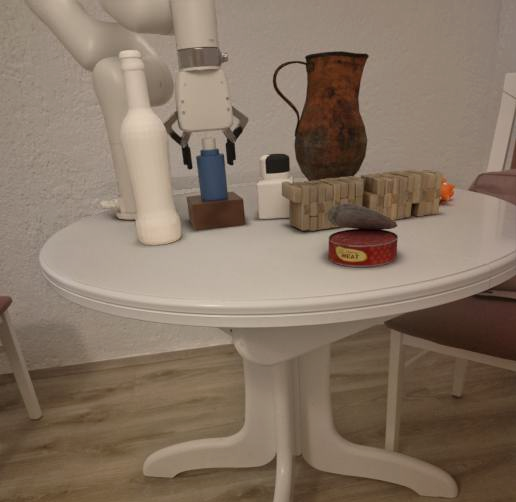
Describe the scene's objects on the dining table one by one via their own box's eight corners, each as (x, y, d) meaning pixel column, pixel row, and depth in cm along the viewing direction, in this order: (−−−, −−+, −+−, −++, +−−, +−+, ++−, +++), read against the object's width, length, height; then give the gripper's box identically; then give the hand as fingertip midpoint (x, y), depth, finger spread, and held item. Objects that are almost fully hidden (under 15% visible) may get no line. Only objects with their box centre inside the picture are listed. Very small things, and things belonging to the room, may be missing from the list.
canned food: (326, 285, 74) (306, 224, 74) (382, 268, 77) (363, 208, 76) (359, 271, 63) (335, 198, 63) (423, 251, 66) (400, 181, 65)
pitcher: (372, 198, 111) (378, 45, 97) (280, 205, 111) (272, 54, 97) (358, 186, 125) (361, 53, 112) (276, 193, 126) (270, 60, 112)
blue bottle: (203, 201, 94) (196, 140, 89) (199, 197, 98) (192, 138, 93) (230, 198, 95) (224, 137, 90) (225, 194, 99) (219, 136, 94)
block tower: (416, 211, 99) (281, 224, 93) (420, 168, 95) (280, 178, 89) (438, 218, 92) (294, 233, 86) (444, 172, 88) (294, 183, 82)
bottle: (190, 234, 91) (165, 49, 77) (169, 246, 84) (138, 45, 70) (152, 234, 93) (122, 54, 80) (129, 245, 87) (92, 51, 73)
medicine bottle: (294, 210, 104) (292, 151, 98) (293, 218, 98) (291, 155, 92) (261, 212, 105) (258, 153, 99) (258, 219, 98) (254, 157, 93)
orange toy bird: (411, 170, 105) (442, 177, 95) (440, 178, 108) (472, 186, 97) (403, 193, 107) (432, 202, 97) (431, 201, 110) (462, 211, 99)
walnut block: (195, 230, 93) (192, 204, 91) (189, 220, 102) (186, 196, 100) (245, 224, 95) (243, 198, 93) (235, 215, 104) (233, 191, 102)
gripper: (242, 61, 91) (249, 160, 99) (149, 66, 88) (164, 169, 96) (251, 57, 84) (258, 164, 92) (151, 63, 81) (167, 173, 89)
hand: (210, 166), depth 94 cm, fingers open, 7 cm apart
